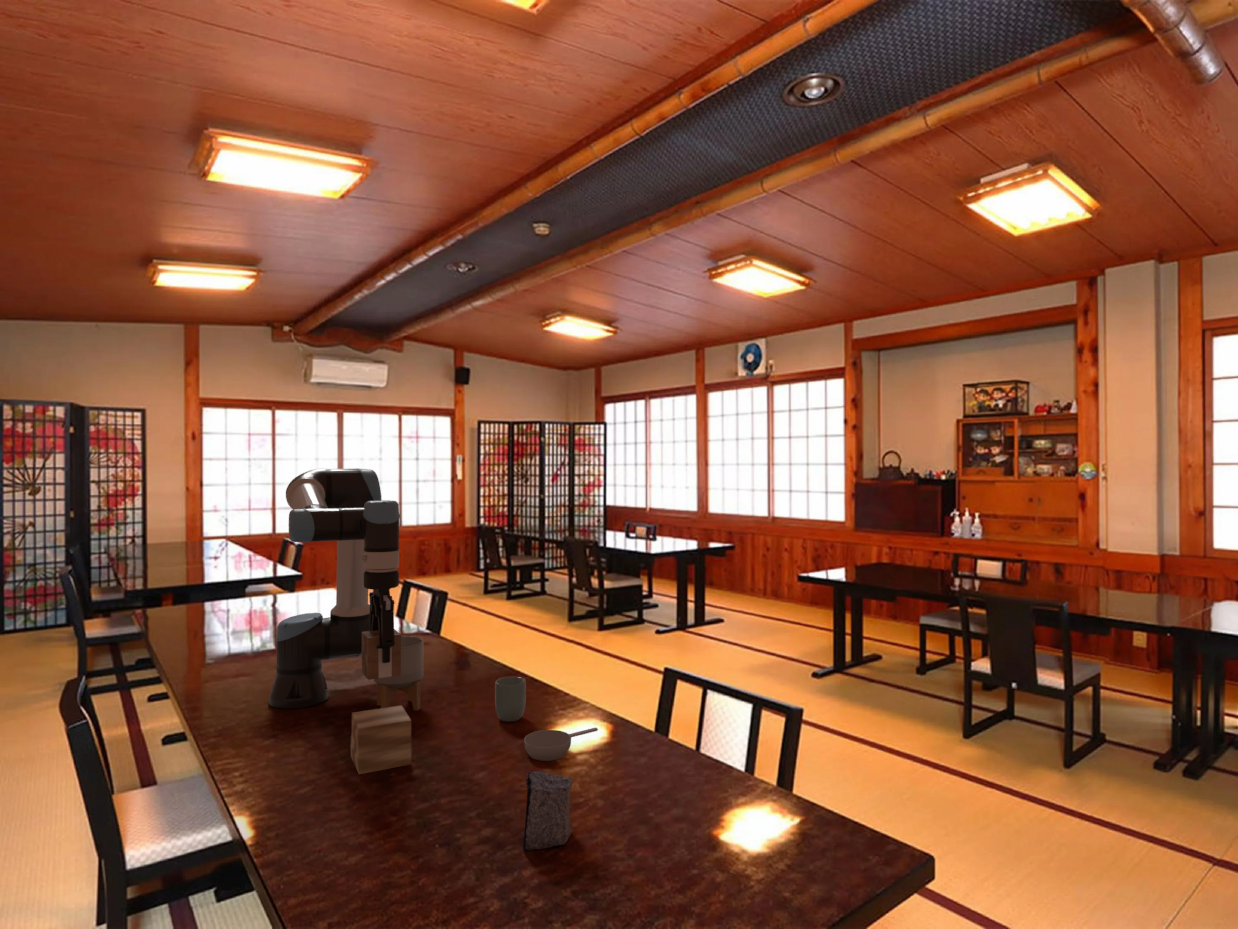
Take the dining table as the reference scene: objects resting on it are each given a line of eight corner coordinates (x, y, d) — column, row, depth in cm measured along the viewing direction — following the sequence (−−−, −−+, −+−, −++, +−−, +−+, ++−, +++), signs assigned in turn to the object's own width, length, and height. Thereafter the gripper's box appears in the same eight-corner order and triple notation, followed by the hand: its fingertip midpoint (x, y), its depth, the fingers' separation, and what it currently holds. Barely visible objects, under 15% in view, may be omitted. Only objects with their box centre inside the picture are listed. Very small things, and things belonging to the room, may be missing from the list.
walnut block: (361, 671, 163) (361, 631, 163) (393, 667, 166) (393, 628, 166) (368, 679, 157) (368, 638, 157) (400, 675, 160) (400, 634, 160)
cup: (519, 725, 183) (519, 686, 183) (490, 723, 185) (490, 684, 185) (529, 715, 191) (529, 677, 191) (501, 713, 192) (501, 675, 192)
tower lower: (350, 757, 164) (350, 735, 164) (400, 748, 169) (400, 726, 169) (358, 775, 154) (359, 752, 154) (411, 765, 159) (411, 742, 159)
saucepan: (517, 749, 168) (517, 733, 168) (587, 736, 177) (587, 720, 177) (534, 767, 159) (534, 749, 159) (607, 752, 167) (607, 735, 167)
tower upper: (351, 734, 164) (351, 712, 164) (401, 726, 169) (401, 705, 169) (358, 752, 154) (358, 728, 154) (411, 743, 159) (411, 720, 159)
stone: (510, 860, 124) (516, 815, 134) (566, 868, 125) (569, 823, 135) (522, 804, 121) (528, 763, 130) (580, 814, 122) (582, 771, 131)
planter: (432, 702, 201) (432, 638, 201) (404, 717, 188) (404, 649, 188) (393, 697, 205) (393, 634, 205) (362, 712, 193) (363, 645, 193)
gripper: (355, 565, 168) (355, 664, 168) (373, 576, 151) (373, 686, 151) (388, 563, 172) (388, 660, 172) (409, 574, 155) (409, 681, 155)
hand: (381, 672), depth 162 cm, fingers closed on walnut block, 7 cm apart
